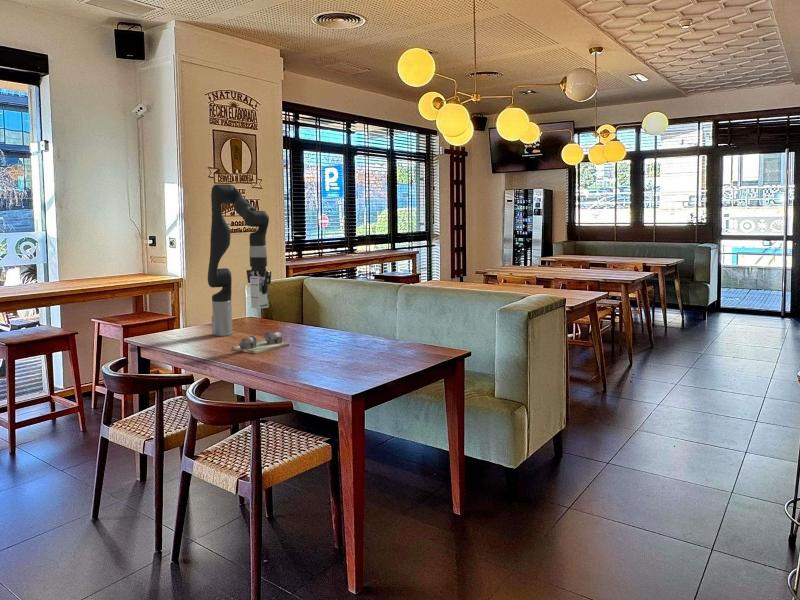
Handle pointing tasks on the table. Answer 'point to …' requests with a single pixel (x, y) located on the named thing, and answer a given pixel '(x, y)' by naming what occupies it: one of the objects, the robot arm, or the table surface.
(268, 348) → the shaft bed
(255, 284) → the syrup box
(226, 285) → the robot arm
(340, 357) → the table surface
